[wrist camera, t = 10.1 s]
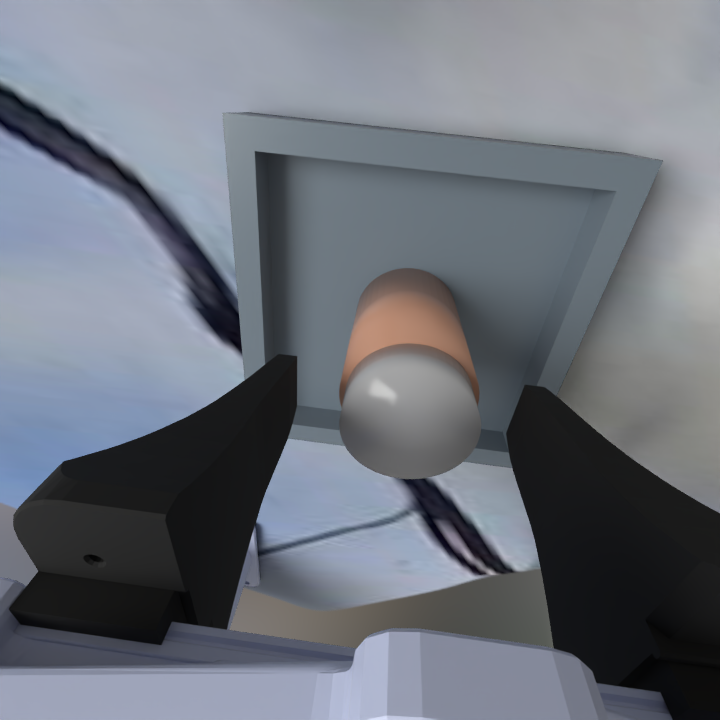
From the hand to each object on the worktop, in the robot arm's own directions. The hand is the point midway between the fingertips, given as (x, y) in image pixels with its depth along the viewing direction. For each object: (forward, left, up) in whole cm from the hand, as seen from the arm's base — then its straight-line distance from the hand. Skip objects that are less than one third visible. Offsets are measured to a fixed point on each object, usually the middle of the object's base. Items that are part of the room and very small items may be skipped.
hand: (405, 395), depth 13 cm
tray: (0, 0, -7) cm, 7 cm away
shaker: (0, 0, -6) cm, 6 cm away
